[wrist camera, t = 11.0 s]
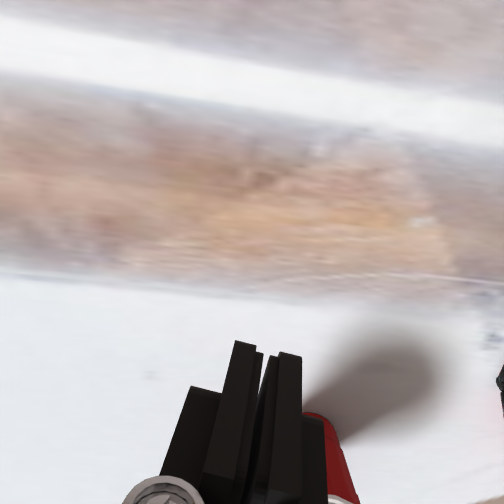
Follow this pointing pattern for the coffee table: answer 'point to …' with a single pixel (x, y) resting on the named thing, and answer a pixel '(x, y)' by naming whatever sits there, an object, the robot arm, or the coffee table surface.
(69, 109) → the coffee table surface
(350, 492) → the plastic cup
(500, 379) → the handheld game console
